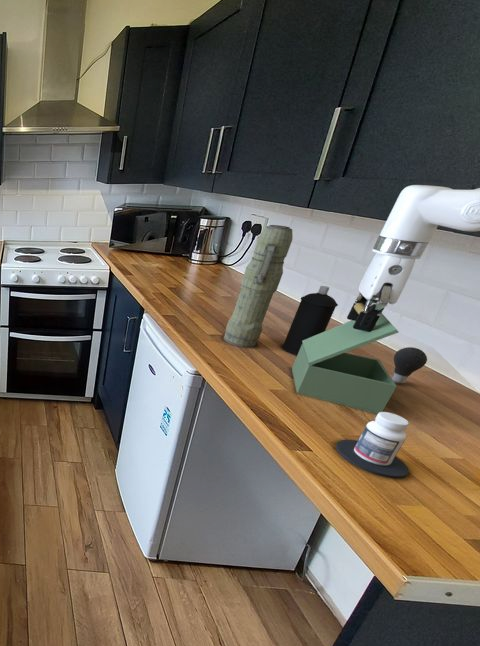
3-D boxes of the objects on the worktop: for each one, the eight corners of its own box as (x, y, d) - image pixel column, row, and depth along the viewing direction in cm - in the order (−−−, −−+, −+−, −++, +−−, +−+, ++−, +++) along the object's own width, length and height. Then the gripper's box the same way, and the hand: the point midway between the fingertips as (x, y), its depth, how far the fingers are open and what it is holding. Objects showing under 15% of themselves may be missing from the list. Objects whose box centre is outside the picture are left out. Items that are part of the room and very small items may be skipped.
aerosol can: (320, 359, 114) (350, 293, 106) (286, 354, 117) (313, 288, 109) (309, 348, 121) (336, 284, 113) (277, 343, 124) (301, 281, 116)
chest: (365, 386, 101) (379, 359, 98) (380, 415, 89) (396, 386, 86) (291, 368, 109) (302, 343, 105) (296, 393, 97) (308, 365, 94)
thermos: (256, 338, 126) (297, 225, 112) (256, 352, 117) (301, 231, 103) (223, 331, 131) (259, 222, 116) (221, 344, 122) (260, 227, 107)
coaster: (398, 454, 77) (399, 452, 77) (414, 487, 69) (416, 484, 69) (332, 435, 82) (333, 433, 82) (340, 463, 74) (342, 461, 74)
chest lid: (380, 311, 95) (365, 292, 95) (399, 332, 83) (381, 310, 84) (303, 343, 105) (290, 326, 106) (310, 365, 93) (295, 346, 94)
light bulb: (417, 388, 101) (438, 352, 97) (400, 389, 100) (420, 353, 96) (393, 376, 106) (411, 343, 102) (375, 378, 105) (394, 343, 101)
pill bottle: (365, 445, 78) (386, 407, 75) (397, 464, 74) (422, 424, 70) (346, 449, 77) (366, 411, 73) (377, 468, 72) (401, 428, 69)
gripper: (438, 258, 76) (390, 342, 84) (409, 244, 89) (370, 317, 97) (386, 251, 80) (344, 333, 87) (366, 238, 93) (331, 310, 101)
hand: (358, 324), depth 92 cm, fingers closed on chest lid, 6 cm apart
